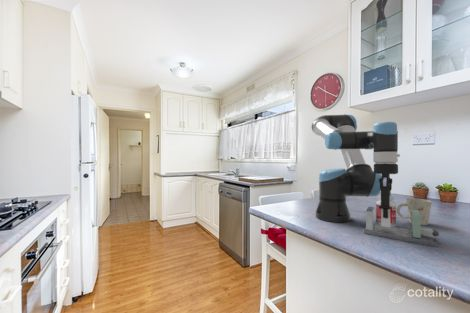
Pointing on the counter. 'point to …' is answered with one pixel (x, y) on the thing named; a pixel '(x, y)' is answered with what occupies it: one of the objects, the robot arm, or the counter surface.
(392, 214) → the pill bottle
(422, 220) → the mug
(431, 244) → the vise base
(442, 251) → the counter surface
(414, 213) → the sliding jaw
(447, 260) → the counter surface
